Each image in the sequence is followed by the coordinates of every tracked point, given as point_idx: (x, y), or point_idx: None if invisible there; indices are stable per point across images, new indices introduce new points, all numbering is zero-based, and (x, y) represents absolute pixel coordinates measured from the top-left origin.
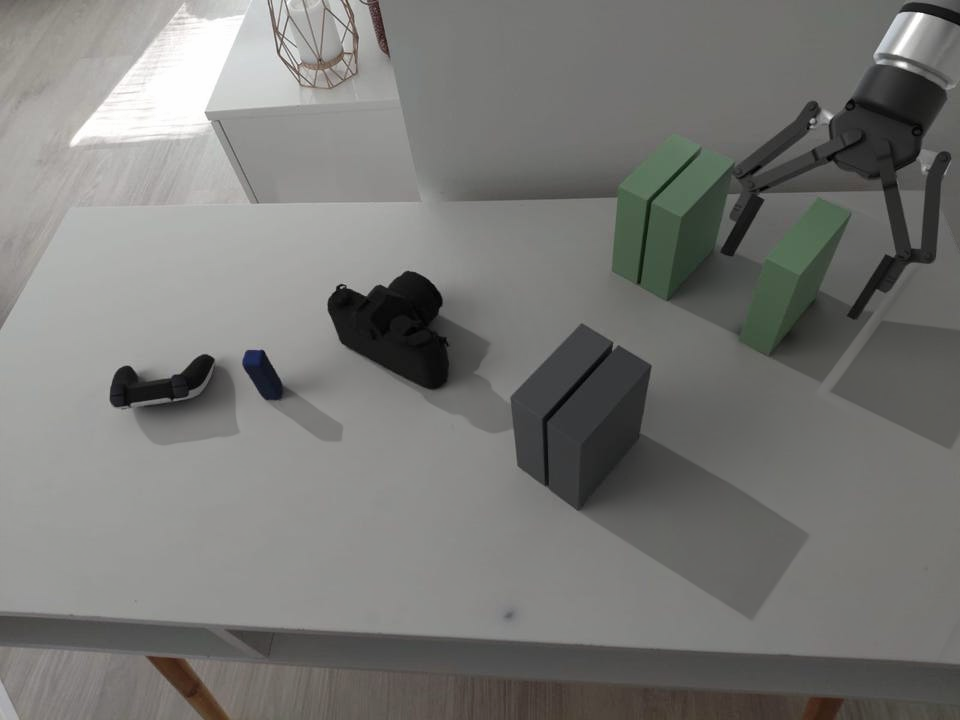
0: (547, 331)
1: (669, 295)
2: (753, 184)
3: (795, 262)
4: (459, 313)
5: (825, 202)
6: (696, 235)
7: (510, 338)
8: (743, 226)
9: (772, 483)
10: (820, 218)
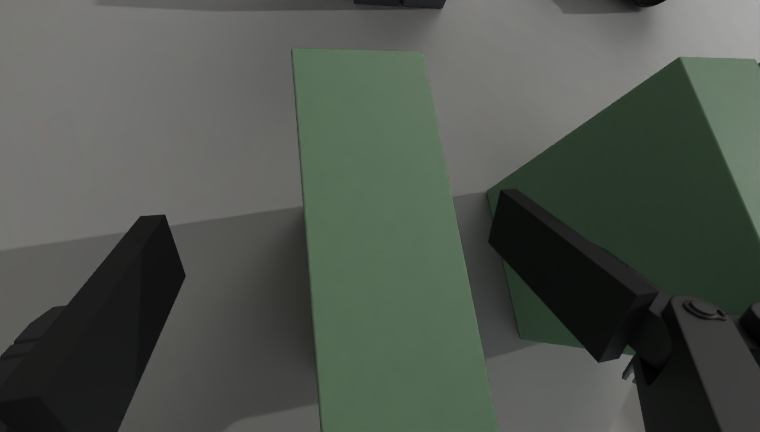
0: (540, 59)
1: (491, 195)
2: (700, 315)
3: (339, 85)
4: (616, 25)
5: None
6: (576, 225)
7: (556, 29)
8: (548, 238)
9: (178, 38)
10: (413, 353)
